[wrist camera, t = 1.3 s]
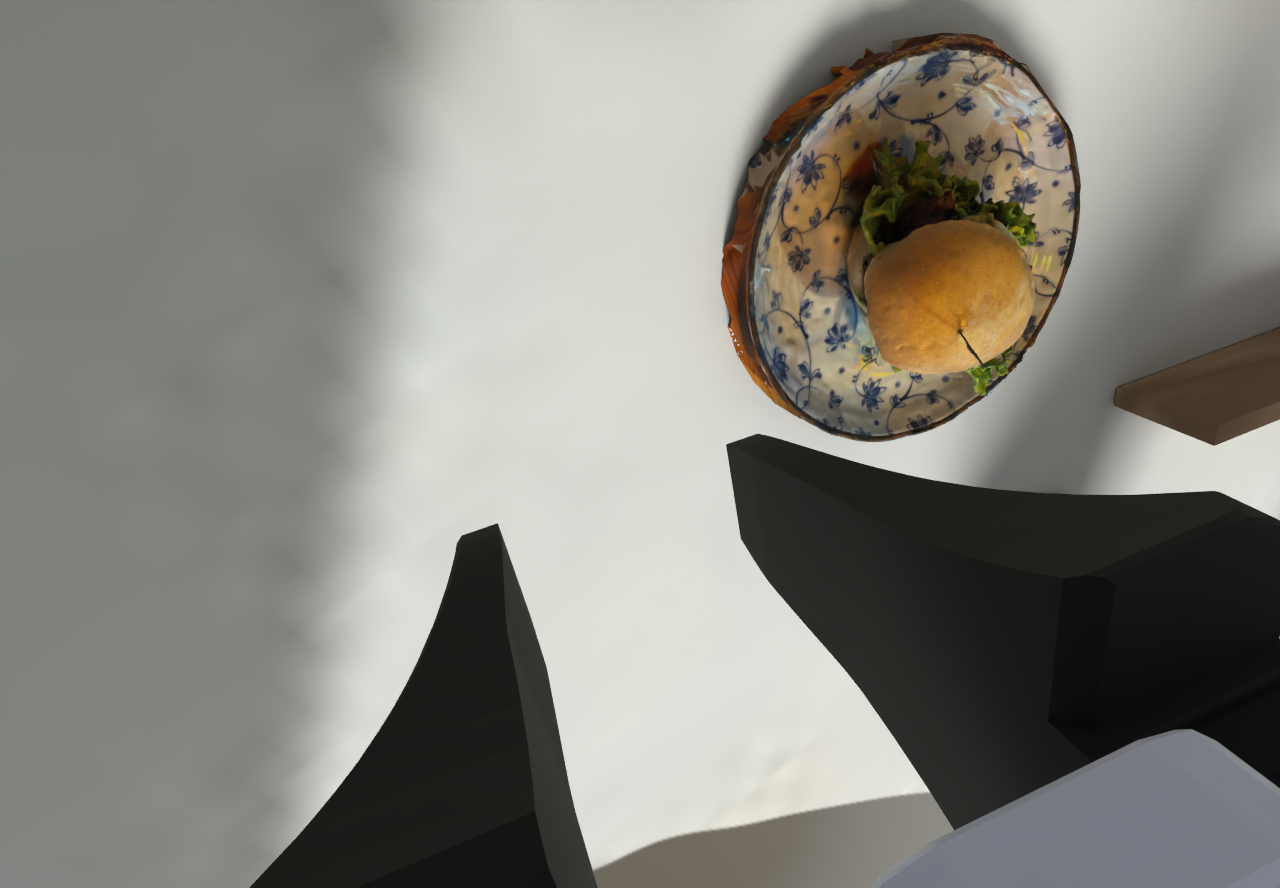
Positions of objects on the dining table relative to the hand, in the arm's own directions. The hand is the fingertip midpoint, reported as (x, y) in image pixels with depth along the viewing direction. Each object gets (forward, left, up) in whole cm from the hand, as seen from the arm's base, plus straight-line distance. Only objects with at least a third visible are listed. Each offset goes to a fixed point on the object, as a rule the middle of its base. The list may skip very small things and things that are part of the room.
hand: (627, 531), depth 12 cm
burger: (0, -12, -10) cm, 16 cm away
